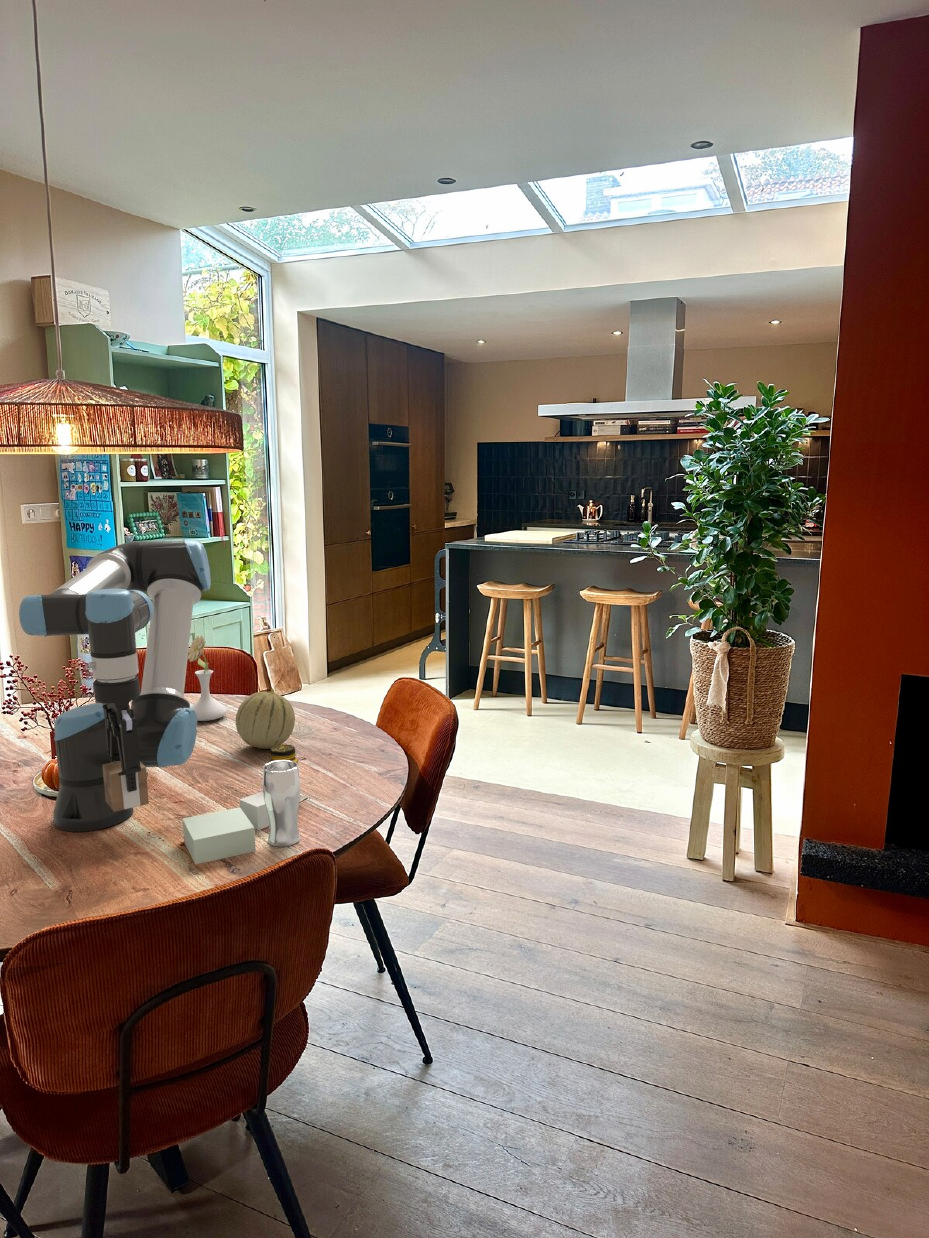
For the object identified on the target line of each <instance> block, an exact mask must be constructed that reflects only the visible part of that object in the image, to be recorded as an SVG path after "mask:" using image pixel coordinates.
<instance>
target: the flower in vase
mask: <svg viewBox="0 0 929 1238" xmlns="http://www.w3.org/2000/svg"><path fill="white" fill-rule="evenodd" d="M205 639H206V638H205V636H203V634H201V635H200V636H199V635H197V636H196V637H195V638H194V640H191V644H190V646H189V649H188V658H187V660H189V662H190V663H192V662H194V661H197V664H198V665H199V666H200V667H202V668H203V669H201V670H196V671H195V672H194V674H195V675H196V676H197V678H198V681H199V685H200V697H199V699H198V700H196V702H194V703H193V704H192V705H190V708H191V709H193V710H194V711H195V712H196V715H197V722H207V721H215V720H217V719H221V718H223V717H225V716H226V715H227V713H228V709H227V707H226V706H225V705H223V704H222V703H220V702H219V701H217V700H216V699H214V698H213V697H212V696H211V693H210V679H211V676H212V674H213V673H214V670H211V669H209V662H207V658H206V655H205V654H204V653H203V651H204V650H205V646H206V640H205ZM201 655H202V656H203V658H204V661H203V660H202V659H201V658H200V656H201Z"/></svg>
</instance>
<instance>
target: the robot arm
mask: <svg viewBox="0 0 929 1238" xmlns="http://www.w3.org/2000/svg"><path fill="white" fill-rule="evenodd" d="M211 584H212V582H211V569H210V564H209V558H208V553H207V551H206V548H205V546H204V544H203V543H202V542H201V541H199V540H186V539H182V540H144V541H143V540H137V541H136V540H135V541H129V542H124V543H121V544H119V545H115V546H113V547H110V548H108V549H106V550H103V551H102V552H100V553H97V555H95V556H93V557H92V558H91V559H90V560H89V561H88V563H87V564H86V567H85V569H83V570H81V572H79V573H78V574H76V575H75V576H73V577H72V578H71V579H69V580H68V581H66V582H65V583H64V584H62V585H60V586H59V587H58V588H56V589H54V591H52V592H50V593H49V594H41V593H40V594H34V595H32V594H31V595H27V596H25V597H24V598H23V599H22V600H21V603H20V605H19V610H18V617H19V618H18V619H19V624H20V627H21V629H22V631H23V632H24V633H25V634H27V635H28V636H41V637H51V636H53V637H54V636H74V635H75V636H77V635H80V636H81V635H88V642H89V650H90V651H89V652H90V653H89V654H90V659H91V661H90V662H88V663H87V666H88V668H90V669H91V672H92V678H94V680H93V682H92V685H93V687H92V688H93V693H94V694H93V696H94V697H93V698H94V700H95V701H96V702H94V703H88V704H85V705H80V706H78V707H74V708H71V709H68V710H67V711H65V712H62V713H60V714H59V715H58V716H57V717H56V718H55V721H54V737H53V741H54V744H55V745H54V746H55V751H56V761H57V770H58V771H57V772H58V778H59V779H58V781H59V787H58V791H57V797H56V800H55V804H54V808H53V811H52V817H53V818H52V819H53V825H54V827H56V829H59V830H60V831H61V830H62V831H66V832H90V831H96V830H102V829H105V828H109V827H112V826H115V825H118V824H121V823H122V822H124V821H126V820H128V819H129V818H130V817H131V816H132V815H133V813H134V808H137V807H141V806H140V794H139V783H138V772H140V771H141V767H140V762H141V763H142V764H143V765H144V766H145V767H146V768H167V767H174V766H181V765H183V764H185V763H186V762H187V761H188V760H189V759H190V758H191V755H192V753H193V752H194V748H195V746H196V740H197V734H198V729H197V727H198V721H197V715H196V712H195V711H194V710H193V709H191V708H190V707H191V704H190V703H191V702H190V701H189V700H188V699H187V698H186V697H185V696H184V695H185V684H186V676H187V666H188V655H189V653H188V650H189V649H190V646H189V645H190V637H191V628H192V619H193V612H194V611H193V609H194V605H196V604H197V603H199V601H200V600H201V598H202V591H203V592H206V591H209V590H211ZM146 593H147V594H146ZM148 624H149V628H148V629H149V630H148V637H147V644H146V651H145V659H144V664H143V665H144V666H143V674H142V675H143V676H142V682H141V686H140V678H139V677H138V676H137V674H139V672H140V671H139V670H140V669H139V660H138V659H139V658H138V650H137V643H136V642H137V640H136V633H137V632H138V631H141V630H142V629H145V627H146V626H147V625H148ZM130 703H131V705H130ZM118 761H121V767H122V772H119V773H118V775H119V776H121V784H122V795H123V806H124V809H125V810H120V811H116V812H114V811H113V810H112V809H111V807H110V806H109V805H108V803H107V802H106V798H105V787H104V776H103V764H108V763H113V762H118ZM128 808H129V809H128Z"/></svg>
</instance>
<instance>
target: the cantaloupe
mask: <svg viewBox="0 0 929 1238" xmlns="http://www.w3.org/2000/svg"><path fill="white" fill-rule="evenodd" d="M235 716H236V717H235V726H236V727H235V728H236V731H237V733H238V735H239V737H240V738H241V739H242V741H243V742H244V743H246V744H247V745H249V746H252V747H254V748H256V749H258V750H259V749H261V750H263V749H266V750H271V748H273V747H274V746H278V745H284V743H285V742H286V741H287V740H289V738H290V736H291V735H292V734H293V730H294V729H295V728H294V727H295V723H296V716H295V711H294V708H293V706H292V704H291V702H290V701H289V700H288V699H287V698H286V697H284V696H283V695H280V694H278V693H276V692H275V690H274V688H270V691H269V692H267V691H259V692H255V693H254V692H253V693H252V694H249V695H248V697H246V698H245V699H244V700H243V701H242V702H241V704H240V705H239V707H238V709H237V711H236V714H235Z"/></svg>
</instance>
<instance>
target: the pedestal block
mask: <svg viewBox="0 0 929 1238" xmlns="http://www.w3.org/2000/svg"><path fill="white" fill-rule="evenodd" d="M255 830H256V829H255V828H254V826H253V825H252V824H251V822H250V821H249V819H248V818H247V816H246V815H245V814H244V812H243V811H242V809H241V808H240V806H239V807H234V808H229V809H224V810H219V811H214V812H210V813H209V812H208V813H204V814H198V815H193V816H188V817H184V818H182V832H183V833H182V834H183V843H184V844H185V847H186V849H187V850H188V853H189V854H190V857H191V858H192V861H193V862H194V865H199V864H205V863H208V862H213V861H217V860H223V859H226V858H230V857H235V856H240V855H244V854H245V855H246V854H248V853H249V854H250V853H254V852H256V851H257V850H256V836H255V835H256V834H255V832H256V831H255Z"/></svg>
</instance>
